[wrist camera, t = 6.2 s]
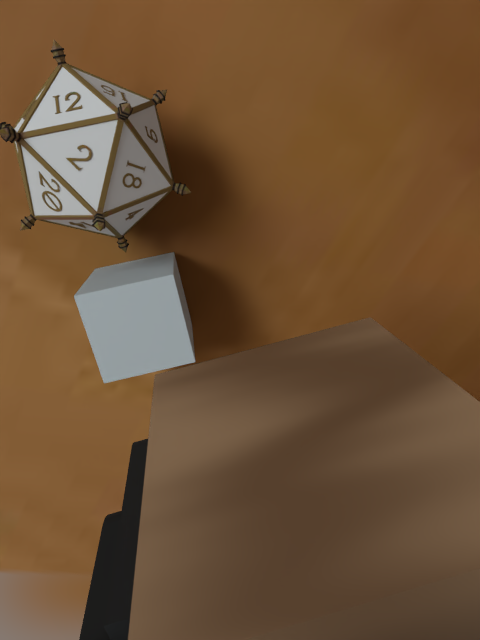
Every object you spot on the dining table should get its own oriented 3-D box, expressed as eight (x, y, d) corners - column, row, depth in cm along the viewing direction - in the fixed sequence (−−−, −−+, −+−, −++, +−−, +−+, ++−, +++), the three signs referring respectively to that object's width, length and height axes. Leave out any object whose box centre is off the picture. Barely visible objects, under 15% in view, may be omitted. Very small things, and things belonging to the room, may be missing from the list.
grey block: (173, 251, 27) (173, 274, 22) (191, 323, 29) (195, 362, 23) (95, 268, 27) (73, 296, 21) (118, 340, 29) (104, 383, 23)
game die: (135, 186, 29) (153, 305, 24) (-9, 143, 24) (-27, 279, 19) (193, 59, 23) (234, 180, 18) (18, -29, 18) (3, 98, 13)
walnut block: (370, 317, 10) (633, 520, 4) (391, 487, 12) (595, 790, 6) (154, 374, 9) (124, 676, 4) (209, 539, 11) (243, 910, 6)
